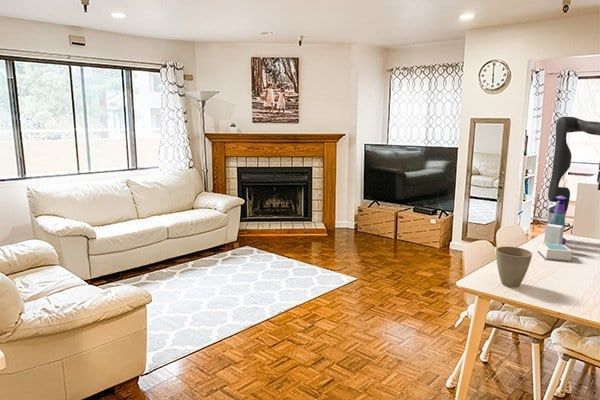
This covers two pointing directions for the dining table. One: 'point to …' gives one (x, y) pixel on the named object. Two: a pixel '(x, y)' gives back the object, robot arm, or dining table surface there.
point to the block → (555, 251)
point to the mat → (551, 259)
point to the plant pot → (512, 264)
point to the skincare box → (553, 234)
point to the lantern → (559, 214)
